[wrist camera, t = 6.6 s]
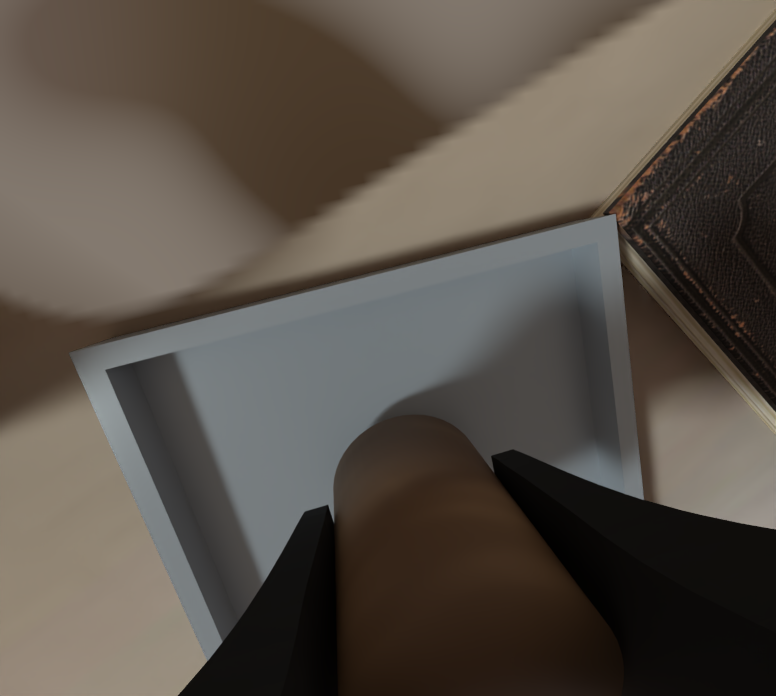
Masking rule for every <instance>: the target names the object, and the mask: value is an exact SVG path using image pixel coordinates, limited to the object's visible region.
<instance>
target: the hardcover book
mask: <svg viewBox="0 0 776 696" xmlns="http://www.w3.org/2000/svg"><path fill="white" fill-rule="evenodd" d="M612 214H616V222H617V232H618V242H619V252H620V261H621V262H622V263H623V264H624V265H625V267H626V268H627V269H628V270H629V271H630V272H631V273H632V274H633V275H634V277H635V278H636V279H637V280H638V281H639V282H640V283H641V284H642V286H643V287H644V288H645V289H646V290H647V291H648V292H649V293H650V295H651V296H652V297H653V298H654V299H655V300H656V301H657V302H658V304H659V305H660V306H661V307H662V308H663V309H664V310H665V311H666V313H667V314H668V315H669V316H670V317H671V318H672V319H673V320H674V321H675V323H676V324H677V325H678V326H679V327H680V328H681V329H682V330H683V332H684V333H685V334H686V335H687V336H688V337H689V338H690V339H691V341H692V342H693V343H694V344H695V345H696V346H697V347H698V348H699V350H700V351H701V352H702V353H703V354H704V355H705V356H706V357H707V358H708V360H709V361H710V362H711V363H712V364H713V365H714V366H715V367H716V369H717V370H718V371H719V372H720V373H721V374H722V375H723V376H724V378H725V379H726V380H727V381H728V382H729V383H730V384H731V385H732V387H733V388H734V389H735V390H736V391H737V392H738V393H739V394H740V395H741V397H742V398H743V399H744V400H745V401H746V402H747V403H748V404H749V406H750V407H751V408H752V409H753V410H754V411H755V412H756V413H757V415H758V416H759V417H760V418H761V419H762V420H763V421H764V422H765V424H766V425H767V426H768V427H769V428H770V429H771V430H772V431H773V433H774V434H775V435H776V9H775V10H774V11H773V12H772V14H771V15H770V16H769V17H768V18H767V19H766V20H765V21H764V22H763V24H762V25H761V26H760V27H759V28H758V29H757V30H756V31H755V33H754V34H753V35H752V36H751V37H750V38H749V39H748V40H747V42H746V43H745V44H744V45H743V46H742V47H741V48H740V49H739V51H738V52H737V53H736V54H735V55H734V56H733V57H732V58H731V60H730V61H729V62H728V63H727V64H726V65H725V66H724V67H723V69H722V70H721V71H720V72H719V73H718V74H717V75H716V76H715V78H714V79H713V80H712V81H711V82H710V83H709V84H708V85H707V87H706V88H705V89H704V90H703V91H702V92H701V93H700V94H699V96H698V97H697V98H696V99H695V100H694V101H693V102H692V103H691V105H690V106H689V107H688V108H687V109H686V110H685V111H684V112H683V114H682V115H681V116H680V117H679V118H678V119H677V120H676V121H675V123H674V124H673V125H672V126H671V127H670V128H669V129H668V130H667V132H666V133H665V134H664V135H663V136H662V137H661V138H660V139H659V141H658V142H657V143H656V144H655V145H654V146H653V147H652V148H651V150H650V151H649V152H648V153H647V154H646V155H645V156H644V157H643V159H642V160H641V161H640V162H639V163H638V164H637V165H636V166H635V168H634V169H633V170H632V171H631V172H630V173H629V174H628V175H627V177H626V178H625V179H624V180H623V181H622V182H621V183H620V184H619V185H618V187H617V188H616V189H615V190H614V191H613V192H612V193H611V194H610V196H609V197H608V198H607V199H606V200H605V201H604V202H603V203H602V205H601V206H600V207H599V208H598V209H597V210H596V211H595V212H594V214H593V215H592V216H591V217H590V218H594V217H600V216H606V215H612Z"/></svg>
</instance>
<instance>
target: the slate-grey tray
mask: <svg viewBox="0 0 776 696" xmlns="http://www.w3.org/2000/svg"><path fill="white" fill-rule="evenodd" d="M69 355H70V357H71V359H72V361H73V364H74V366H75V368H76V370H77V373H78V375H79V377H80V379H81V381H82V384H83V386H84V388H85V390H86V393H87V395H88V397H89V399H90V401H91V404H92V406H93V408H94V410H95V413H96V415H97V417H98V419H99V421H100V424H101V426H102V428H103V430H104V433H105V435H106V437H107V439H108V441H109V444H110V446H111V448H112V450H113V453H114V455H115V457H116V459H117V461H118V464H119V466H120V468H121V470H122V473H123V475H124V477H125V479H126V481H127V484H128V486H129V488H130V490H131V493H132V495H133V497H134V499H135V501H136V504H137V506H138V508H139V510H140V513H141V515H142V517H143V519H144V521H145V524H146V526H147V528H148V530H149V533H150V535H151V537H152V539H153V541H154V544H155V546H156V548H157V550H158V553H159V555H160V557H161V559H162V561H163V564H164V566H165V568H166V570H167V573H168V575H169V577H170V579H171V581H172V584H173V586H174V588H175V590H176V593H177V595H178V597H179V599H180V601H181V604H182V606H183V608H184V610H185V613H186V615H187V617H188V619H189V621H190V624H191V626H192V628H193V630H194V633H195V635H196V637H197V639H198V641H199V644H200V646H201V648H202V650H203V653H204V655H205V657H206V659H207V661H208V660H209V659H210V658H211V656H212V655H213V654H214V652H215V651H216V650H217V649H218V647H219V646H220V645H221V643H222V642H223V641H224V639H225V638H226V637H227V636H228V634H229V633H230V632H231V630H232V629H233V628H234V626H235V625H236V623H237V622H238V621H239V619H240V618H241V616H242V615H243V614H244V612H245V611H246V609H247V608H248V606H249V605H250V603H251V602H252V600H253V598H254V597H255V595H256V594H257V592H258V591H259V589H260V588H261V586H262V585H263V583H264V581H265V580H266V578H267V577H268V575H269V573H270V571H271V570H272V568H273V566H274V565H275V563H276V561H277V559H278V558H279V556H280V554H281V553H282V551H283V549H284V547H285V545H286V544H287V542H288V540H289V538H290V536H291V535H292V533H293V531H294V529H295V527H296V525H297V524H298V522H299V520H300V518H301V517H302V515H303V513H304V512H305V511H308V510H312V509H315V508H318V507H322V506H325V505H328V506H329V509H330V512H331V515H332V519H333V522H334V498H333V484H334V477H335V473H336V469H337V466H338V464H339V461H340V459H341V457H342V456H343V454H344V452H345V451H346V449H347V448H348V447H349V445H350V444H351V443H352V442H353V441H354V440H355V439H356V438H357V437H358V436H359V435H360V434H362V433H363V432H364V431H365V430H367V429H368V428H370V427H372V426H373V425H375V424H377V423H379V422H382V421H384V420H386V419H390V418H393V417H397V416H402V415H414V414H416V415H427V416H432V417H436V418H439V419H442V420H444V421H446V422H448V423H450V424H452V425H454V426H455V427H456V428H458V429H459V430H460V431H461V432H463V433H464V434H465V435H466V437H467V438H468V439H469V440H470V442H471V443H472V444H473V445H474V447H475V448H476V449H477V451H478V452H479V453H480V455H481V456H482V457H483V459H484V460H485V461H486V463H487V464H488V465H489V467H490V468H491V469H492V471H493V472H494V469H493V463H492V458H491V456H492V455H495V454H498V453H502V452H505V451H508V450H512V449H514V450H517V451H519V452H522V453H524V454H527V455H529V456H531V457H533V458H536V459H538V460H540V461H543V462H545V463H547V464H549V465H552V466H554V467H556V468H559V469H561V470H563V471H566V472H568V473H571V474H573V475H575V476H578V477H580V478H583V479H585V480H588V481H591V482H593V483H596V484H598V485H601V486H604V487H607V488H610V489H612V490H615V491H618V492H621V493H624V494H627V495H630V496H633V497H636V498H639V499H642V500H644V496H643V485H642V475H641V465H640V455H639V445H638V435H637V425H636V414H635V404H634V394H633V384H632V374H631V364H630V353H629V343H628V333H627V323H626V313H625V303H624V293H623V282H622V272H621V262H620V252H619V242H618V232H617V222H616V214H612V215H606V216H600V217H594V218H588V219H582V220H577V221H572V222H568V223H564V224H560V225H556V226H552V227H549V228H545V229H541V230H537V231H533V232H529V233H525V234H521V235H517V236H513V237H509V238H505V239H501V240H497V241H493V242H489V243H485V244H481V245H477V246H474V247H470V248H466V249H462V250H458V251H454V252H450V253H446V254H442V255H438V256H434V257H430V258H426V259H422V260H418V261H414V262H410V263H406V264H402V265H398V266H395V267H391V268H387V269H383V270H379V271H375V272H371V273H367V274H363V275H359V276H355V277H351V278H347V279H343V280H339V281H335V282H331V283H327V284H323V285H320V286H316V287H312V288H308V289H304V290H300V291H296V292H292V293H288V294H284V295H280V296H276V297H272V298H268V299H264V300H260V301H256V302H252V303H248V304H245V305H241V306H237V307H233V308H229V309H225V310H221V311H217V312H213V313H209V314H205V315H201V316H197V317H193V318H189V319H185V320H181V321H177V322H173V323H170V324H166V325H162V326H158V327H154V328H150V329H146V330H142V331H138V332H134V333H130V334H126V335H122V336H118V337H114V338H110V339H107V340H104V341H101V342H99V343H96V344H93V345H90V346H87V347H84V348H81V349H78V350H75V351H72V352H69Z"/></svg>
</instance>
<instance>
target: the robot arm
mask: <svg viewBox="0 0 776 696" xmlns="http://www.w3.org/2000/svg"><path fill="white" fill-rule="evenodd" d="M491 458H492V463H493V469H494V473H495V475H496V476H497V477H498V479H499V480H500V481H501V483H502V484H503V485H504V487H505V488H506V489H507V491H508V492H509V493H510V495H511V496H512V497H513V499H514V500H515V501H516V503H517V504H518V505H519V507H520V508H521V509H522V511H523V512H524V513H525V515H526V516H527V517H528V519H529V520H530V521H531V523H532V524H533V525H534V527H535V528H536V529H537V531H538V532H539V533H540V535H541V536H542V537H543V539H544V540H545V541H546V543H547V544H548V545H549V547H550V548H551V549H552V551H553V552H554V553H555V555H556V556H557V557H558V559H559V560H560V561H561V563H562V564H563V565H564V567H565V568H566V569H567V571H568V572H569V573H570V575H571V576H572V577H573V579H574V580H575V581H576V583H577V584H578V585H579V587H580V588H581V589H582V591H583V592H584V593H585V595H586V596H587V597H588V599H589V600H590V601H591V603H592V604H593V605H594V607H595V608H596V609H597V611H598V612H599V613H600V615H601V616H602V617H603V619H604V620H605V621H606V623H607V624H608V625H609V627H610V628H611V630H612V632H613V633H614V635H615V637H616V639H617V641H618V644H619V647H620V650H621V653H622V658H623V665H624V682H623V687H622V693H621V696H776V530H775V529H769V528H764V527H758V526H752V525H746V524H741V523H736V522H732V521H727V520H722V519H717V518H713V517H708V516H703V515H699V514H694V513H690V512H686V511H682V510H678V509H675V508H671V507H667V506H664V505H660V504H657V503H653V502H649V501H646V500H642V499H639V498H636V497H633V496H630V495H627V494H624V493H621V492H618V491H615V490H612V489H610V488H607V487H604V486H601V485H598V484H596V483H593V482H591V481H588V480H585V479H583V478H580V477H578V476H575V475H573V474H571V473H568V472H566V471H563V470H561V469H559V468H556V467H554V466H552V465H549V464H547V463H545V462H543V461H540V460H538V459H536V458H533V457H531V456H529V455H527V454H524V453H522V452H519V451H517V450H514V449H512V450H508V451H505V452H502V453H498V454H495V455H492V456H491ZM178 696H338V675H337V631H336V587H335V542H334V522H333V519H332V515H331V512H330V509H329V506H328V505H325V506H322V507H318V508H315V509H312V510H308V511H305V512H304V513H303V515H302V517H301V518H300V520H299V522H298V524H297V525H296V527H295V529H294V531H293V533H292V535H291V536H290V538H289V540H288V542H287V544H286V545H285V547H284V549H283V551H282V553H281V554H280V556H279V558H278V559H277V561H276V563H275V565H274V566H273V568H272V570H271V571H270V573H269V575H268V577H267V578H266V580H265V581H264V583H263V585H262V586H261V588H260V589H259V591H258V592H257V594H256V595H255V597H254V598H253V600H252V602H251V603H250V605H249V606H248V608H247V609H246V611H245V612H244V614H243V615H242V616H241V618H240V619H239V621H238V622H237V623H236V625H235V626H234V628H233V629H232V630H231V632H230V633H229V634H228V636H227V637H226V638H225V639H224V641H223V642H222V643H221V645H220V646H219V647H218V649H217V650H216V651H215V652H214V654H213V655H212V656H211V658H210V659H209V660H208V661H207V662H206V664H205V665H204V666H203V667H202V669H201V670H200V671H199V672H198V673H197V674H196V675H195V677H194V678H193V679H192V680H191V681H190V682H189V683H188V685H187V686H186V687H185V688H184V689H183V690H182V692H181V693H180V694H179V695H178Z"/></svg>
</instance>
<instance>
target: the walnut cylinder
mask: <svg viewBox="0 0 776 696" xmlns="http://www.w3.org/2000/svg"><path fill="white" fill-rule="evenodd" d="M333 498H334V542H335V587H336V631H337V675H338V696H621V693H622V687H623V682H624V665H623V658H622V653H621V650H620V647H619V644H618V641H617V639H616V637H615V635H614V633H613V632H612V630H611V628H610V627H609V625H608V624H607V623H606V621H605V620H604V619H603V617H602V616H601V615H600V613H599V612H598V611H597V609H596V608H595V607H594V605H593V604H592V603H591V601H590V600H589V599H588V597H587V596H586V595H585V593H584V592H583V591H582V589H581V588H580V587H579V585H578V584H577V583H576V581H575V580H574V579H573V577H572V576H571V575H570V573H569V572H568V571H567V569H566V568H565V567H564V565H563V564H562V563H561V561H560V560H559V559H558V557H557V556H556V555H555V553H554V552H553V551H552V549H551V548H550V547H549V545H548V544H547V543H546V541H545V540H544V539H543V537H542V536H541V535H540V533H539V532H538V531H537V529H536V528H535V527H534V525H533V524H532V523H531V521H530V520H529V519H528V517H527V516H526V515H525V513H524V512H523V511H522V509H521V508H520V507H519V505H518V504H517V503H516V501H515V500H514V499H513V497H512V496H511V495H510V493H509V492H508V491H507V489H506V488H505V487H504V485H503V484H502V483H501V481H500V480H499V479H498V477H497V476H496V475H495V473H494V472H493V471H492V469H491V468H490V467H489V465H488V464H487V463H486V461H485V460H484V459H483V457H482V456H481V455H480V453H479V452H478V451H477V449H476V448H475V447H474V445H473V444H472V443H471V442H470V440H469V439H468V438H467V437H466V435H465V434H464V433H463V432H461V431H460V430H459V429H458V428H456V427H455V426H454V425H452V424H450V423H448V422H446V421H444V420H442V419H439V418H436V417H432V416H427V415H416V414H414V415H402V416H397V417H393V418H390V419H386V420H384V421H382V422H379V423H377V424H375V425H373V426H372V427H370V428H368V429H367V430H365V431H364V432H363V433H362V434H360V435H359V436H358V437H357V438H356V439H355V440H354V441H353V442H352V443H351V444H350V445H349V447H348V448H347V449H346V451H345V452H344V454H343V456H342V457H341V459H340V461H339V464H338V466H337V469H336V473H335V477H334V484H333Z"/></svg>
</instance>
